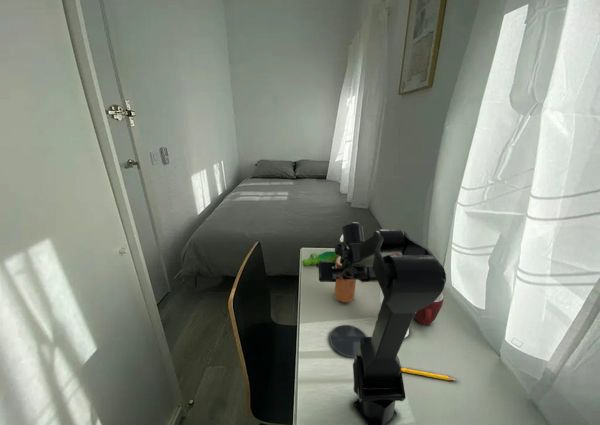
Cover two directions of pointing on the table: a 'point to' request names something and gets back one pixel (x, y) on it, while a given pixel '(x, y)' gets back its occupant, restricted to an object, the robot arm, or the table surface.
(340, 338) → the charcoal plate
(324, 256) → the toy
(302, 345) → the table surface
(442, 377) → the pencil
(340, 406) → the table surface
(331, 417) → the table surface
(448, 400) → the table surface
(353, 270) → the robot arm
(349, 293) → the copper pot
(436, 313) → the mug
